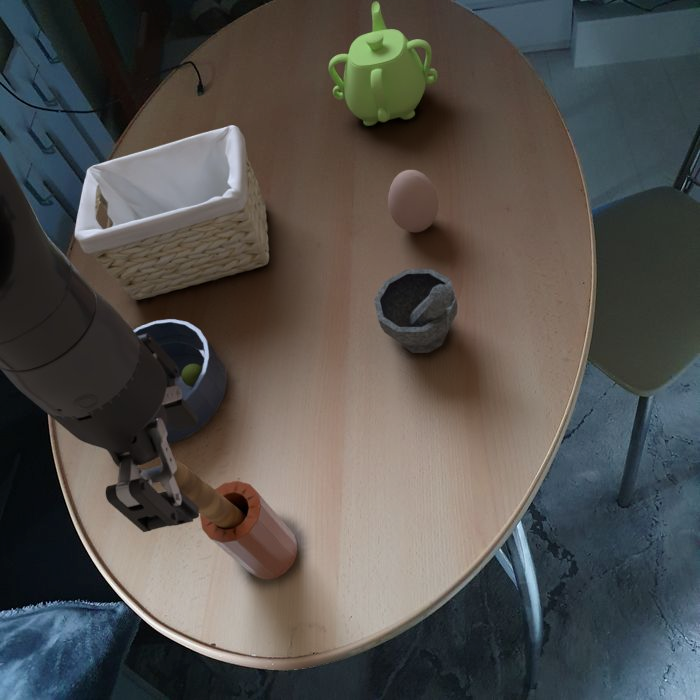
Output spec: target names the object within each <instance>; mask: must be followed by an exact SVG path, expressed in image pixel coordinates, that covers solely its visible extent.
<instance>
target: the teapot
mask: <svg viewBox="0 0 700 700" xmlns="http://www.w3.org/2000/svg"><path fill="white" fill-rule="evenodd" d="M371 19H372V31H371V32H368V33H364V34H362V35H359V36H357V37H356V39H354V40H353V42H352V43H351V44H350V47H349V51H348V53H340V54H336V55H335V56H333V57H332V58H331V59H330V61H329V63H328V73H329V76H330V78H331V79H332V81H333V82H334V83H335V86H334V87H333V89H332V95H333V97H334V98H335V99H336V100H338V101H344V100H345V102H346V105H347V107H348V109H349V111H350V112H351V113H352V114H353V115H354V116H356V117H357V118H358V119H359V120H362V121H363V125H364V126H367V127H368V126H369V127H370V126H374V125H376V124H377V123H378V122H380V123H385V122H388V121H389V120H390V121H391V120H394V119H398V118H400V119H402V120H410V119H412V118H413V117H415V115H416V111H415V109H416V108H417V106H418V105H419V103H420V102H421V100H422V97H423V95H424V93H425V90H426V85H432V84H434V83H436V82H437V80H438V77H439V74H438V71H437V70H436V69H435V68H430V67H431V63H432V57H433V56H432V55H433V50H432V47H431V45H430V43H428V42H427V41H426V40H424V39H420V38H419V39H411V40H410V41H409V39H408V38H407V37H406V36H405V34H404V33H402V32H401V31H400V30H398V29H396V28H395V29H394V28H387V26H386V24H385V23H386V22H385V21H384V17H383V14H382V10H381V5H380V3H379V2H378V1H376V0H375V1H373V2H372V4H371ZM417 48H418V49H424V50H425V59H424V64H423V63H422V61H421V58H420V56H419V55H418V53H417V51H416V49H417ZM339 63H345V66H344V72H343V80H342V79H341V77H340V76H339V74H338V72H337V71H336V68H335V66H336V65H337V64H339ZM429 75H430V76H429ZM339 91H341V92H339Z"/></svg>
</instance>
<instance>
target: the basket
mask: <svg viewBox="0 0 700 700" xmlns="http://www.w3.org/2000/svg"><path fill="white" fill-rule="evenodd" d="M246 146H247V145H246V138H245V136H244V134H243V133H242V132H241V129H240V128H239V127H238V126H236V125H232V124H231V125H228V126H225V127H220V128H217V129H214V130H209V131H205V132H201V133H198V134H195V135H192V136H191V135H190V136H188V137H185V138H182V139H179V140H175V141H172V142H169V143H165V144H161V145H158V146H155V147H153V148H149V149H145V150H142V151H138V152H135V153H131V154H128V155H124V156H121V157H118V158H113V159H110V160H108V161H104V162H100V163H97V164H94V165H92V166H91V165H90V167H88V168H87V170H86V175H85V178H84V180H83V181H84V182H83V185H82V190H81V195H80V201H79V206H78V211H77V215H76V222H75V228H74V238H75V240H76V241H77V242H78V244H79V246H80V249H81V250H82V251H83V253H85V254H86V255H91V256H92V257H93V258H95V260H96V261H97V262H98V263H99V264H100V266H101V267H102V268H103V269H104V270H105V271H106V273H107V274H108V276H110V277H111V278H113V279H114V280H115V282H116V284H118V285H119V286H121V287H122V288H123V290H124V292H126V293H127V294H128V295H129V296H130V297H131V298H132V300H135V301H139V300H143V299H147V298H153V297H156V296H158V295H162V294H168V293H170V292H173V291H176V290H182V289H185V288H188V287H192V286H198V285H200V284H203V283H206V282H210V281H216V280H218V279H221V278H224V277H228V276H234V275H236V274H239V273H244V272H247V271H252V270H254V269H257V268H261V267H264V266H266V265H268V263H269V261H270V253H269V251H270V246H269V235H268V229H269V228H268V222H267V213H266V212H267V210H266V209H267V207H266V203H265V200H264V197H263V195H262V192H261V188H260V187H259V181H258V180H257V178H256V176H255V175H256V174H255V172H254V169H253V167H252V164H251V163H250V161H249V157H248V152H247V147H246ZM100 205H102V207H103V209H104V210H105V212H106V214H107V217H108V218H107V224H106V228H103V227H102V226H101V225H100V222H99V219H100V218H99V217H98V216H97V215H98V211H99V208H100V207H99V206H100Z"/></svg>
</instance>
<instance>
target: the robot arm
mask: <svg viewBox="0 0 700 700" xmlns="http://www.w3.org/2000/svg"><path fill="white" fill-rule="evenodd" d="M133 330H134V329H133V328H131V326H130V325H129V324H128V323H127V321H126V320H125V319H124V318H123V317H122V315H121V314H120V313H119V311H118V310H117V309H116V308H115V307H114V306H113V305H112V304H111V303H110V302H109V301H108V300H107V299H105V298H104V297H103V296H102V295H101V294H99V293H98V292H97V291H96V290H95V289H94V287H92V286H91V284H90V283H89V282H88V281H87V280H86V279H85V277H84V276H83V275H82V274H81V273H80V271H79V270H78V268H76V267H75V265H74V264H73V263H72V262H71V261H70V260H69V258H68V257H67V256H66V255H65V253H63V251H61V250H60V248H59V247H58V246H57V245H56V244H55V243H54V242H53V241H52V240H51V238H50V236H48V234H47V233H46V231H45V230H44V228H43V226H42V224H41V222H40V220H39V219H38V216H37V214H36V213H35V211H34V208H33V207H32V204H31V203H30V201H29V199H28V197H27V195H26V193H25V191H24V190H23V188H22V187H21V184H20V182H19V181H18V180H17V178H16V176H15V174H14V172H13V171H12V169H11V167H10V165H9V163H8V162H7V161H6V159H5V157H4V155H3V154H2V152H1V151H0V370H1V371H2V372H3V374H4V375H5V376H6V378H7V379H8V380H9V381H10V382H11V383H12V384H13V385H14V386H15V387H16V388H17V389H18V390H19V391H20V392H21V393H22V394H23V395H24V396H26V397H27V398H28V399H29V400H30V401H32V402H33V403H34V404H36V405H37V407H39V408H40V409H41V410H43V411H44V412H45V413H46V414H47V415H48V416H50V417H51V418H52V419H53V420H54V421H55V422H57V423H58V424H59V425H61V426H62V427H63V428H64V429H65V430H66V431H68V433H70V434H71V435H73V437H75V438H76V439H77V440H79V441H81V442H83V443H85V444H88V445H91V446H94V447H97V448H100V449H103V450H106V451H107V452H108V454H109V455H110V457H111V459H112V461H113V463H114V464H115V466H117V468H118V475H117V483H114V484H111V485H107V486H106V488H105V498H106V500H107V502H108V503H109V504H110V505H111V506H112V507H113V508H114V509H116V510H117V511H118V512H119V513H121V514H122V515H123V516H124V517H125V518H126V519H127V520H128V521H130V522H131V523H132V524H133V525H134V526H135V527H137V528H138V529H139V530H140V531H141V532H143V533H147V532H151V531H153V530H157V529H162V528H166V527H172V526H173V527H174V526H180V525H183V524H188V523H193V522H194V519H197V518H199V516H200V513H199V507H198V506H197V505H196V504H195V503H194V502H193V501H192V500H190V499H189V498H188V497H187V496H186V495H185V494H184V493H183V492H182V491H179V488H178V486H177V483H176V480H175V478H174V473H175V471H176V470H177V465H176V462H175V461H176V460H175V457H174V455H173V452H172V449H171V447H170V444H168V442H167V439H166V437H167V434H168V433H167V430H166V427H167V422H168V423H169V424H170V425H171V426H172V427H173V429H175V430H184V429H188V428H192V427H195V426H197V425H198V416H197V415H196V414H195V413H194V411H193V410H192V409H191V408H190V406H189V405H188V404H187V403H186V402H185V400H184V399H183V398H182V390H181V388H180V386H179V385H176V386H175V380H174V378H177V377H179V369H178V367H177V365H176V364H175V363H174V361H173V360H172V359H171V358H170V357H169V356H168V355H167V353H166V352H165V351H164V350H163V349H162V348H161V347H160V345H159V344H158V343H157V342H156V341H155V340H154V339H153V337H152V336H151V335H150V334H149V333H147V334H143V335H139V336H137V335H136V334H135V332H134V331H133ZM156 459H159V461H160V463H161V465H157V466H153V467H150V468H145V469H141V468H140V467H139V466H143V465H145V464H147V463H150V462H151V461H154V460H156ZM160 482H161V483H163V485H164V487H163V488H164V489H165V490H164V491H161V492H158V491H157V490H156V489H155V488H154V486H153V484H156V483H160Z"/></svg>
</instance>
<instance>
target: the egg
mask: <svg viewBox="0 0 700 700" xmlns="http://www.w3.org/2000/svg"><path fill="white" fill-rule="evenodd" d="M387 204H388V209H389V213H390V216H391V218H392V220H393V222H394V223H395V224H396V225H397V226H398V227H399V228H401V229H402V230H404V231H406V232H410V233H420V232H423V231H425V230H427V229H428V228H429V227H431V226H432V224H433V223H434V222H435V220H436V218H437V215H438V212H439V195H438V192H437V190H436V188H435V186H434V184H433V182H432V180H430V179H429V178H428V177H427V176H426V175H425V174H424V173H423V172H421V171H418V170H416V169H406V170H402V171H401V172H399V173H398V174H397V175H396V176H395V177H394V178H393V180H392V183H391V184H390V187H389V191H388V197H387Z"/></svg>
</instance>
